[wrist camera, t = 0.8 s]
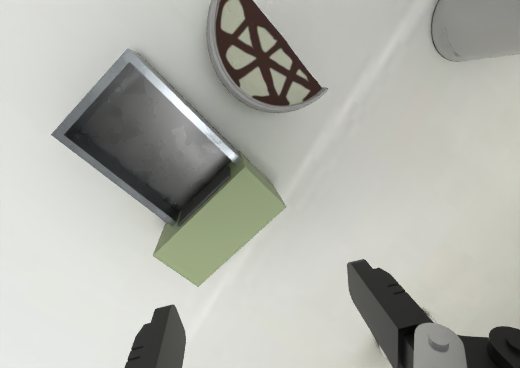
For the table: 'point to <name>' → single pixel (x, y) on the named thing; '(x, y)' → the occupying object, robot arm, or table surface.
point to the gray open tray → (146, 137)
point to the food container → (257, 59)
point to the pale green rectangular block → (218, 221)
